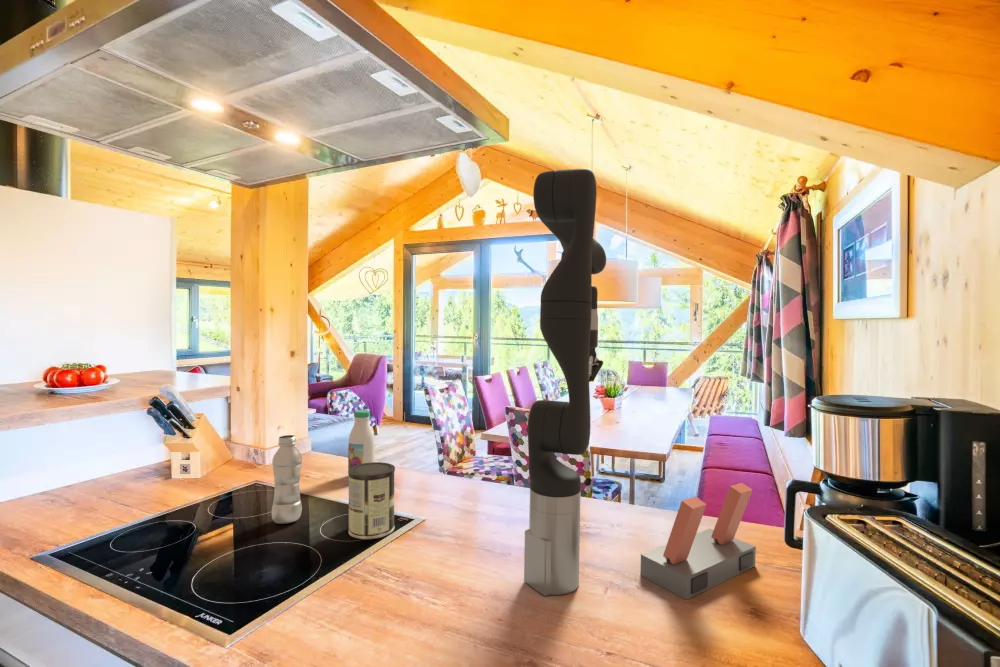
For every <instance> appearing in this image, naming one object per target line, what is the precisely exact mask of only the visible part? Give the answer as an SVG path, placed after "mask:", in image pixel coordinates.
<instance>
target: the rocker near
mask: <svg viewBox="0 0 1000 667" xmlns="http://www.w3.org/2000/svg"><path fill="white" fill-rule="evenodd" d="M706 508H707V503H706V502H704V501H703V500H701V499H700V498H699V497H697V496H693V497H689V498H686V499H682V500H681V502H680V505H679V507H678V510H677V514H676V516H675V520H674V522H673V526H672V528H671V531H670V534H669V536H668V540H667V543H666V545H667V546H666V548H665V551H664V554H663V556H664V557H665V558H666V561H667V562H668V563H670V562H671V563H672V564H673V565H674V564H677V563H679V562H682V561H684V560H686V559H687V558H688V555H689V552H690V550H691V547H692V544H693V541H694V538H695V536H696V534H697V532H698V530H699V526H700V524H701V521H702V518H703V516H704V513H705V511H706V510H705V509H706Z"/></svg>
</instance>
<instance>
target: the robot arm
mask: <svg viewBox="0 0 1000 667" xmlns="http://www.w3.org/2000/svg"><path fill="white" fill-rule="evenodd" d="M597 191H598V190H597V180H596V175H595V173H594V171H592V169H591V168H571V169H558V170H557V169H556V170H548V171H543V172H540V173H539V174H538V175H537V176H536V178H535V181H534V184H533V192H532V193H533V197H532V198H533V205H534V209H535V213H536V215H537V217H538V218H539V220H540V221H541V223H542V224H543V225H544V226H545V227H546V228H547V229H548V230H549V231H550V232H551V233H552V234H553V235H554V237H556V238H557V240H558V241H559V242H560V244H561V245H560V246H561V248H562V253H561V257H560V261H559V262H558V263H557V265H556V266H555V267H554V269H553V271H552V272H551V273H550V275H549V277H548V279H547V280H546V282H545V283H544V286H543V288H542V290H541V294H540V310H539V313H540V315H539V327H540V332H541V335H542V337H543V339H544V341H545V343H546V345H547V346H548V348H549V350H550V352H551V353H552V355H553V356H554V358H555V360H556V362H557V364H558V366H559V367H560V369H561V371H562V374H563V376H564V379H565V383H566V387H567V392H568V401H559V400H549V399H548V400H546V399H544V400H542V399H540V400H539V399H538V400H536V401H534V402H533V404H532V405H531V407H530V410H529V412H528V417H527V418H528V419H527V446H528V449H527V450H528V476H529V525H528V529H525V530H524V550H523V551H524V555H523V556H524V559H523V560H524V563H523V564H524V565H523V568H524V570H523V581H524V582H525V583H526V584H527V585H529V586H530V587H532V588H533V589H534V590H536V591H537V592H538V593H540V594H541V595H542V596H544V597H546V596H549V595H555V596H556V595H557V596H559V595H565V594H566V595H567V594H570V593H573V592H575V590H577V588H579V585H580V550H581V549H580V548H581V547H580V539H581V499H582V498H581V495H582V491H581V490H582V488H581V486H582V485H581V484H582V481H581V476H580V474H579V473H578V472H577V471H576V470H575V469H573V468H571V467H569V466H567V465H565V464H563V463H562V462H561V461H560V460H559V459H557V457H555V455H554V454H553V453H557V454H565V455H573V456H574V455H575V456H580V455H584V454H585V453H586V451H587V449H588V447H589V444H590V439H591V438H590V437H591V399H590V397H591V396H590V394H591V392H590V383H591V382H594V381H595V379H596V377H597V376H598V374H599V372H600V371H601V369H602V367H603V364H604V360H600V359H599V358H598V357H597V351H596V348H597V347H598V346H599V344H598V341H599V340H598V339H599V315H598V297H599V296H598V295H599V294H598V288H597V286H595V285H593V284H592V279H593V278H592V275H598V274H600V273H601V272H603V271H604V269H605V267H606V264H607V255H606V251H605V250H604V248H603V246H602V245H601V244H600V242H598V241H597V240H596V239H595V238H594V234H595V233H594V232H595V220H596V219H595V218H596V208H597V193H598V192H597Z"/></svg>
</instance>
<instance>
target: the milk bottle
mask: <svg viewBox="0 0 1000 667" xmlns="http://www.w3.org/2000/svg"><path fill="white" fill-rule="evenodd" d="M370 416H371V413H370V410H367V409H358V410H355V411H354V412H353V419H354V423H353V425H352V426H353V427H352V429H351V430H350V433H349V436H348V449H347V450H348V452H347V453H348V458H347V459H348V462H347V469H349V468H351V467H353V466H355V465H358V464H363V463H371V462H375V461H376V460H375V459H376V455H375V454H376V453H375V452H376V444H375V440H376V439H375V434H374V431H373V428H372V427H371V423H370V418H371V417H370ZM347 476H348V477H349V474H348V473H347Z"/></svg>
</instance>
